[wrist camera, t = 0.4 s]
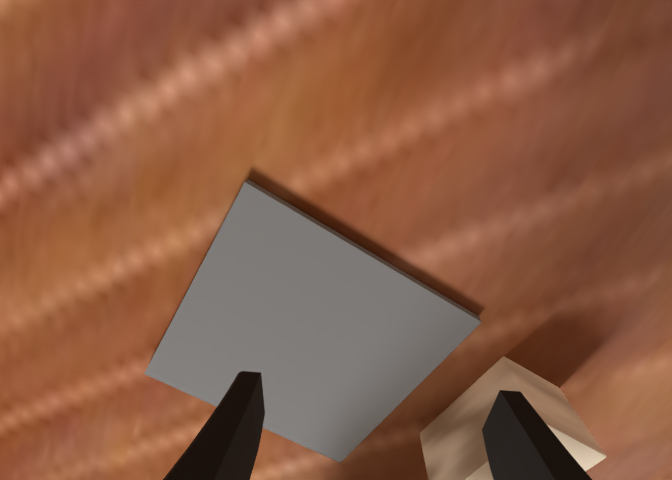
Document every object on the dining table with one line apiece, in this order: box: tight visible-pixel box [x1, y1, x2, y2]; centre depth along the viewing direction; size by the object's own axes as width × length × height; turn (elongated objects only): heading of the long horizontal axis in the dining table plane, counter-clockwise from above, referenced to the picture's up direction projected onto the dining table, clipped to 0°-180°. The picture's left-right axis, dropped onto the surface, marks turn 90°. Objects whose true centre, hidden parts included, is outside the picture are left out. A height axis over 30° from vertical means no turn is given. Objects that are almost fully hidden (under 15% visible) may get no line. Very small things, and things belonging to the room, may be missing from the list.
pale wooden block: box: [419, 356, 607, 480], centre depth 23 cm, size 9×5×5 cm, turn 148°
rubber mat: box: [144, 179, 481, 463], centre depth 23 cm, size 16×16×1 cm
